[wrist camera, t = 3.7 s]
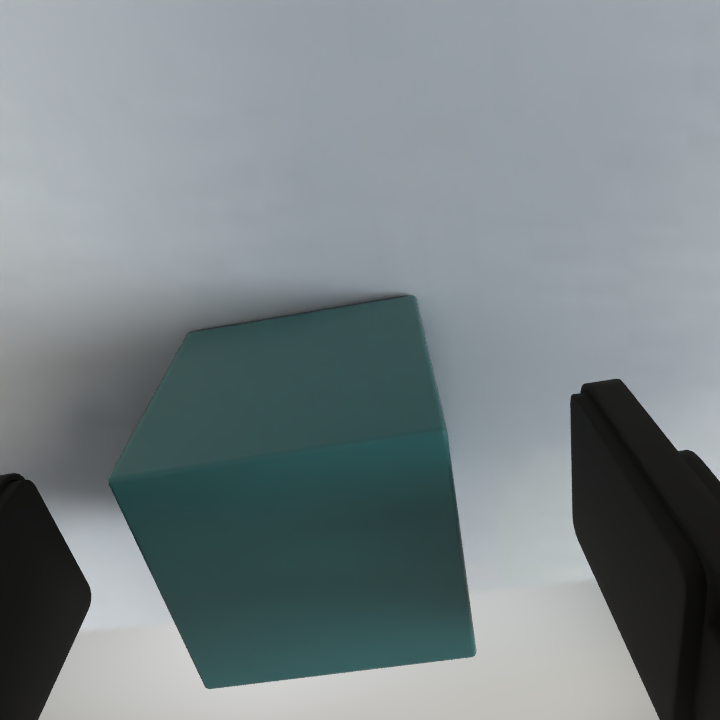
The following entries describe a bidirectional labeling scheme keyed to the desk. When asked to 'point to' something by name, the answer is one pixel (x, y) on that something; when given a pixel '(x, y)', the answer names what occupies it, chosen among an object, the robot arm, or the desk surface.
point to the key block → (301, 498)
